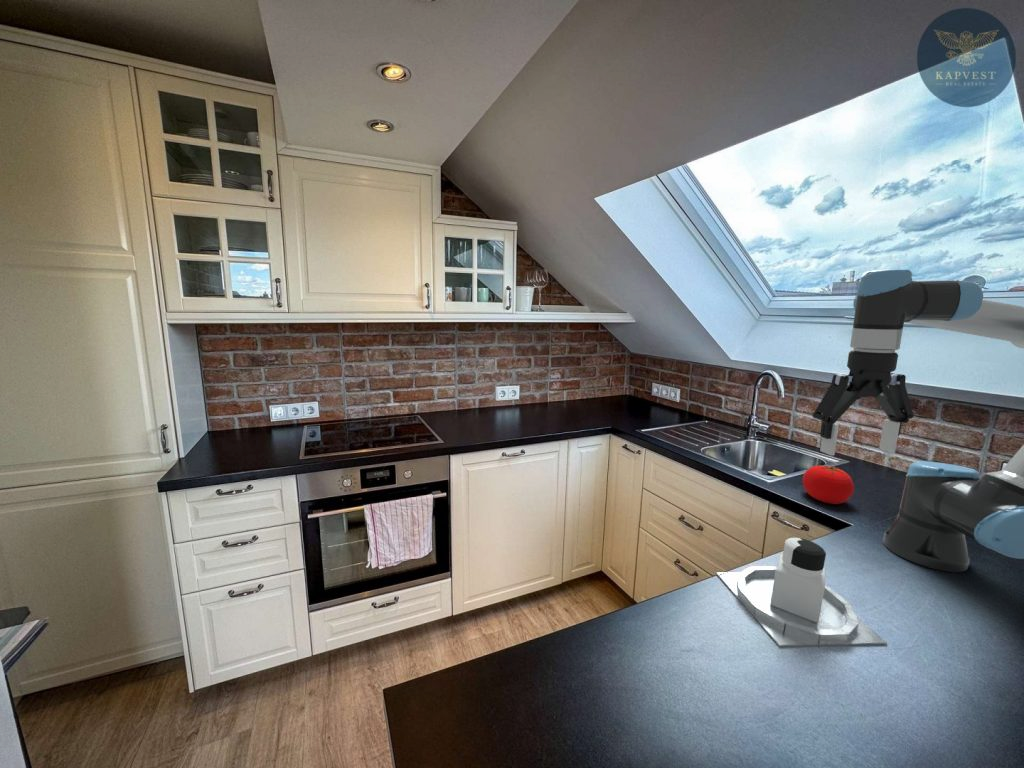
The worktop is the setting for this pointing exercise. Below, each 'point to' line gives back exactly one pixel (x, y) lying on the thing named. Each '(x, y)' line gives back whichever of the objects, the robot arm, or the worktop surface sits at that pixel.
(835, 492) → the tomato
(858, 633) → the duct collar
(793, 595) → the container
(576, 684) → the worktop surface
